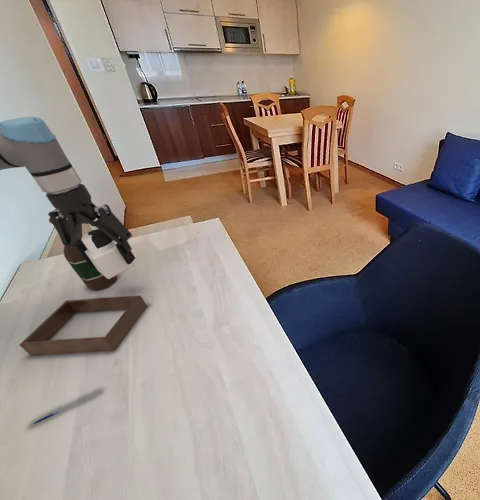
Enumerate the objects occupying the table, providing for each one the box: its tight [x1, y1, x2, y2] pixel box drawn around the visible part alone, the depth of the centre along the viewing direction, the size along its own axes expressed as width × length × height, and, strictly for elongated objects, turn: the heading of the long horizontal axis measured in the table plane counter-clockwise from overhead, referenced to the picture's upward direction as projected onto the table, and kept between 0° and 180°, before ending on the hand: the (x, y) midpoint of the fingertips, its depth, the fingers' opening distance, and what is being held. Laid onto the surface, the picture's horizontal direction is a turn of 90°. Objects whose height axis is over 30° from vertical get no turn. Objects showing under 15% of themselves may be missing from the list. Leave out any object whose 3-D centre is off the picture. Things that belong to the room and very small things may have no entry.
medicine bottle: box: [81, 228, 136, 279], centre depth 82 cm, size 7×7×12 cm
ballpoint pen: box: [33, 411, 60, 425], centre depth 61 cm, size 10×1×1 cm, turn 125°
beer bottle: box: [48, 216, 118, 292], centre depth 88 cm, size 8×8×24 cm
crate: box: [19, 294, 148, 357], centre depth 77 cm, size 21×15×5 cm
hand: (113, 262), depth 84 cm, fingers closed on medicine bottle, 10 cm apart
